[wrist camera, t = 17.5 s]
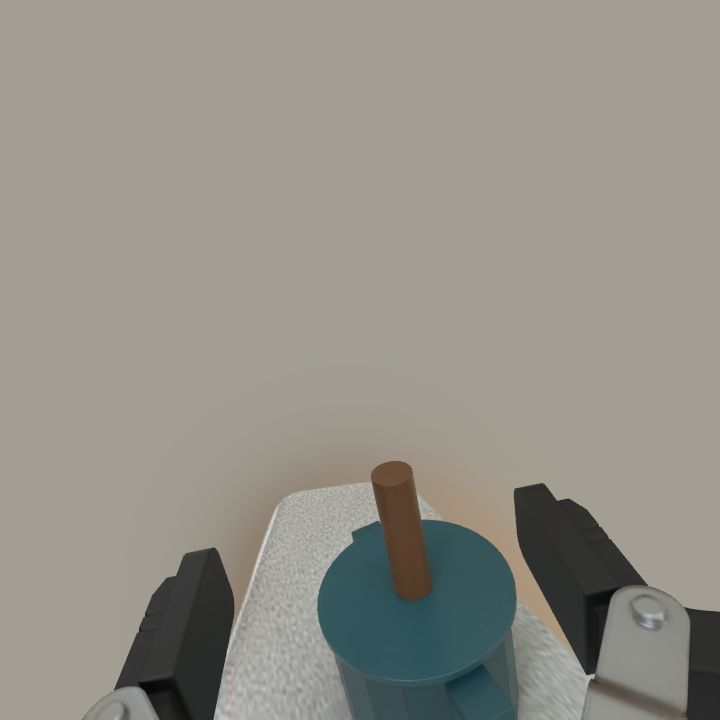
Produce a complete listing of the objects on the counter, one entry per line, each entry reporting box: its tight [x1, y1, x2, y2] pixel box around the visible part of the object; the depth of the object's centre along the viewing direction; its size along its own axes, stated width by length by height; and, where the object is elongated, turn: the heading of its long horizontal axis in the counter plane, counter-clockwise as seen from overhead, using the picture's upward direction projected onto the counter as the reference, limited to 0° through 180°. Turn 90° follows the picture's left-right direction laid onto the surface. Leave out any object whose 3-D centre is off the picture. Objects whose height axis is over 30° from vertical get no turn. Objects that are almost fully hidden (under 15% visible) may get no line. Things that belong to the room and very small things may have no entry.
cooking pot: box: [334, 521, 518, 720], centre depth 33 cm, size 11×17×10 cm
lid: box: [317, 461, 517, 687], centre depth 30 cm, size 12×12×10 cm
